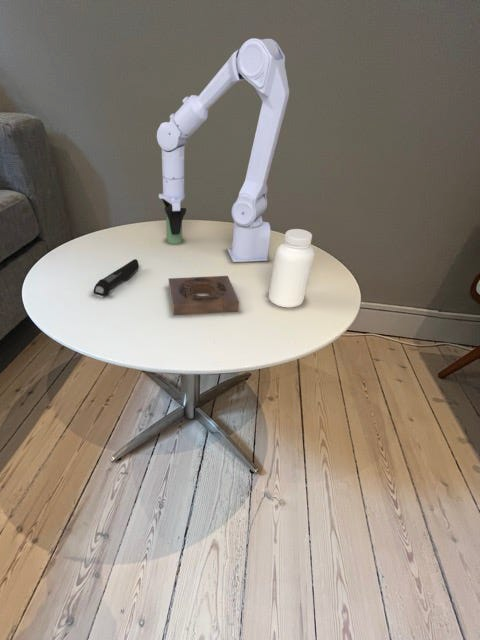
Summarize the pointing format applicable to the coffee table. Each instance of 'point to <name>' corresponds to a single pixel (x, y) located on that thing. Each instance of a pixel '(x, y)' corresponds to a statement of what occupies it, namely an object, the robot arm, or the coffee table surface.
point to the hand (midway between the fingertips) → (174, 229)
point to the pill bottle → (292, 269)
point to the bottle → (171, 238)
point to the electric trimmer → (115, 278)
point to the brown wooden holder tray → (215, 302)
